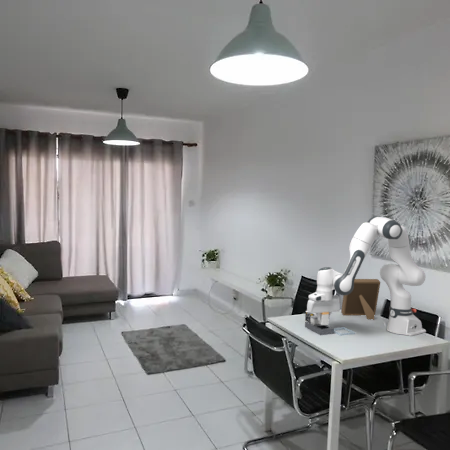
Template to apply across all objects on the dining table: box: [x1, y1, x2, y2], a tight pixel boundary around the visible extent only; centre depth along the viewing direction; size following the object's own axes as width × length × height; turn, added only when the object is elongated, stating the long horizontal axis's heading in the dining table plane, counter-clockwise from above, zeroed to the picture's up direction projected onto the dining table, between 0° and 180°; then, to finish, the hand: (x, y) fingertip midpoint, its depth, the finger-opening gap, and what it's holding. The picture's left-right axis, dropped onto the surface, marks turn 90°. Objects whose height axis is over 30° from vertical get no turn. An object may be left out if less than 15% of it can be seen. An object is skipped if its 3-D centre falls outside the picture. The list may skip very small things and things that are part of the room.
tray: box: [333, 326, 356, 337], centre depth 240 cm, size 10×10×2 cm
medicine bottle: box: [304, 310, 316, 322], centre depth 261 cm, size 7×7×12 cm
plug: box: [318, 312, 330, 326], centre depth 238 cm, size 4×4×7 cm
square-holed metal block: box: [304, 321, 335, 336], centre depth 243 cm, size 16×9×4 cm, turn 21°
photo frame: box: [340, 278, 381, 321], centre depth 275 cm, size 15×22×25 cm
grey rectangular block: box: [311, 315, 319, 325], centre depth 246 cm, size 4×4×7 cm
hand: (323, 319), depth 238 cm, fingers closed on plug, 4 cm apart
